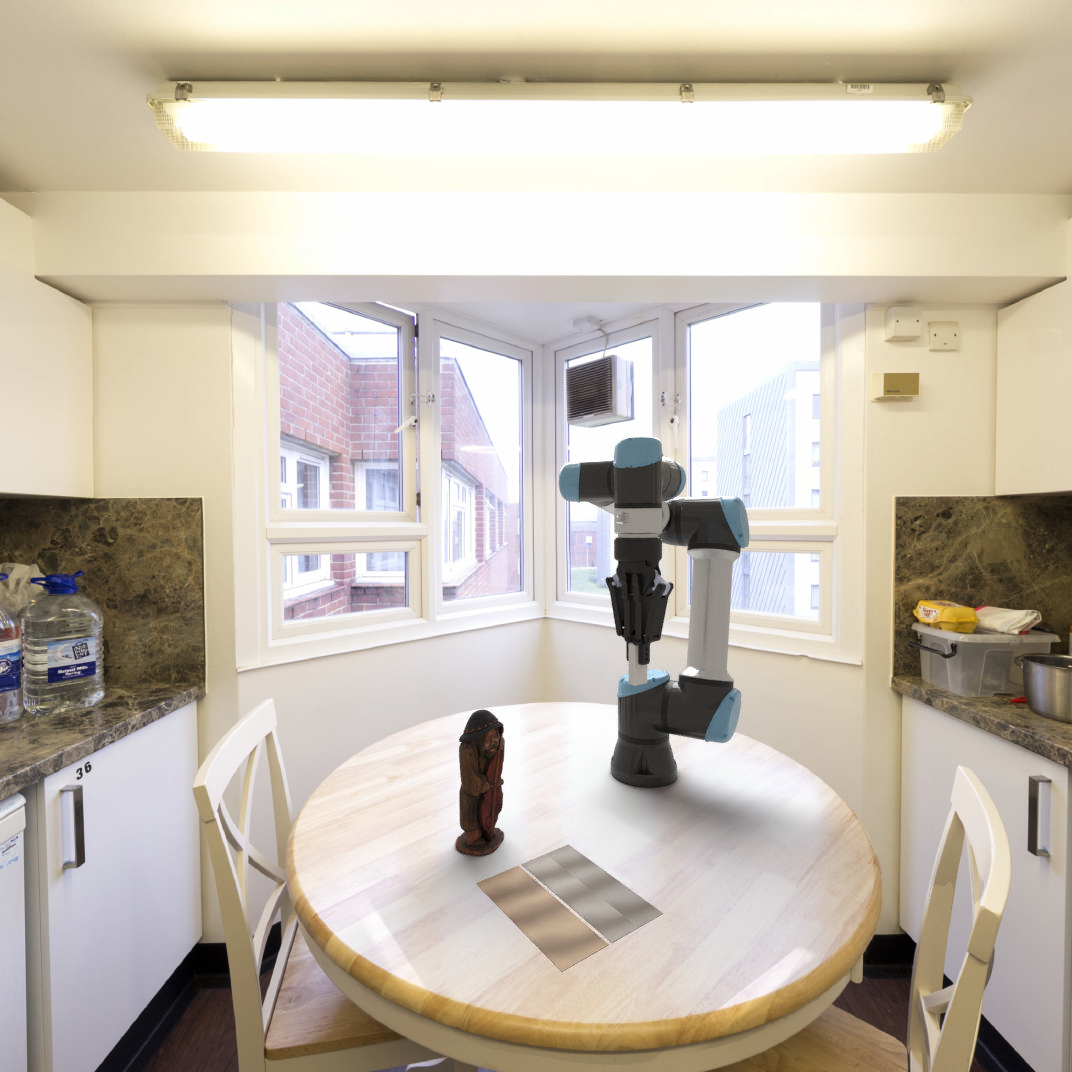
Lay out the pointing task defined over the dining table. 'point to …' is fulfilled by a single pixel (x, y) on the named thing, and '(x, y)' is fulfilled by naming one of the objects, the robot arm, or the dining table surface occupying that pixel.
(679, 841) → the dining table surface
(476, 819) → the figurine
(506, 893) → the plank
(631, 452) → the robot arm
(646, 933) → the dining table surface
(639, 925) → the laid strip
